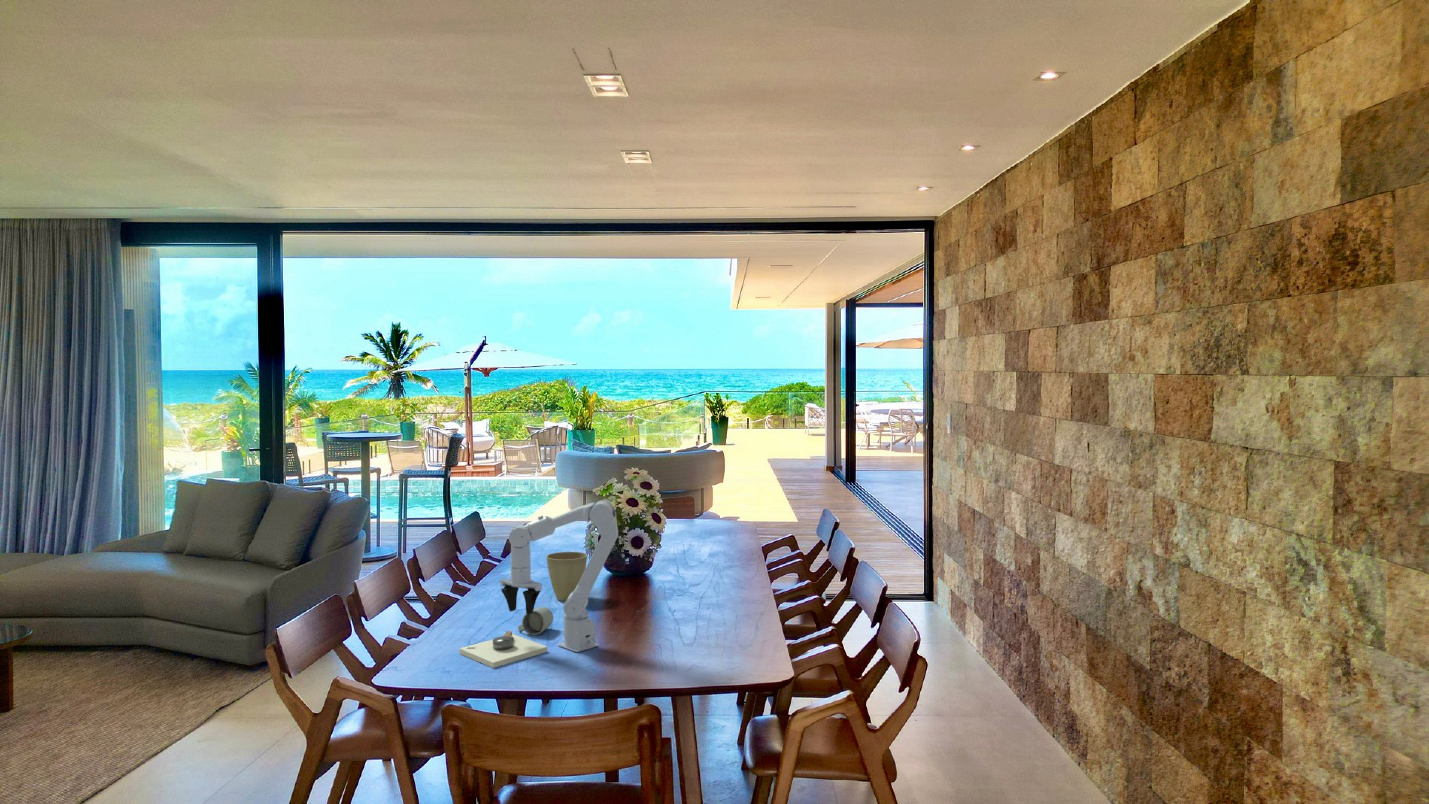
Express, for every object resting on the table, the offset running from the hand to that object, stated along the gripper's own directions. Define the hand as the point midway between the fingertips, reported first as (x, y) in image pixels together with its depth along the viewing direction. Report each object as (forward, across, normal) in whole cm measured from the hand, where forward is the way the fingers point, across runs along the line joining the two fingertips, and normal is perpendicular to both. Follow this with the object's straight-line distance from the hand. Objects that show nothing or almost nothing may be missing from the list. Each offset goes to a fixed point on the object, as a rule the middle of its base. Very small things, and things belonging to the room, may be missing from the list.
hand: (521, 612), depth 232 cm
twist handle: (+8, +2, +4) cm, 10 cm away
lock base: (+10, +1, +6) cm, 12 cm away
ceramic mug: (+11, +7, -13) cm, 18 cm away
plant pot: (+11, +22, -50) cm, 56 cm away
